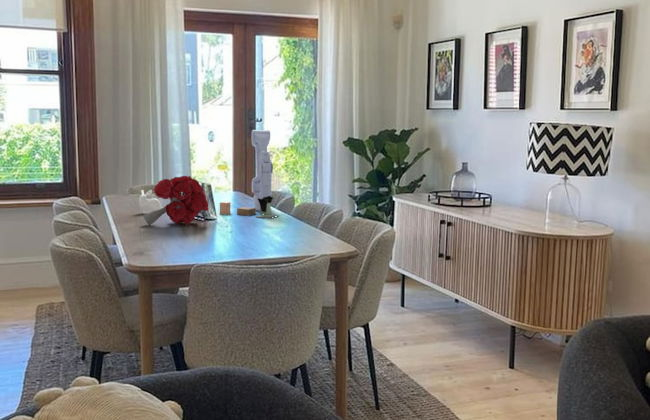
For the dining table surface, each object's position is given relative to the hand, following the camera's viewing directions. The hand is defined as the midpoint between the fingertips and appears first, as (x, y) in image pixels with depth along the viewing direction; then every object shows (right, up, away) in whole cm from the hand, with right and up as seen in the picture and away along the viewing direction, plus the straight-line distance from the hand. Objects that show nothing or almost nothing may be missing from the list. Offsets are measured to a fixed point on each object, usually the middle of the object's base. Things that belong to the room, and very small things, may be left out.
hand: (265, 211), depth 341 cm
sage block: (0, -2, 0) cm, 2 cm away
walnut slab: (-10, -2, -2) cm, 10 cm away
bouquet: (-38, -6, -41) cm, 56 cm away
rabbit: (-59, -1, -9) cm, 60 cm away
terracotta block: (-21, -1, -2) cm, 21 cm away
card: (+2, -3, -9) cm, 10 cm away
